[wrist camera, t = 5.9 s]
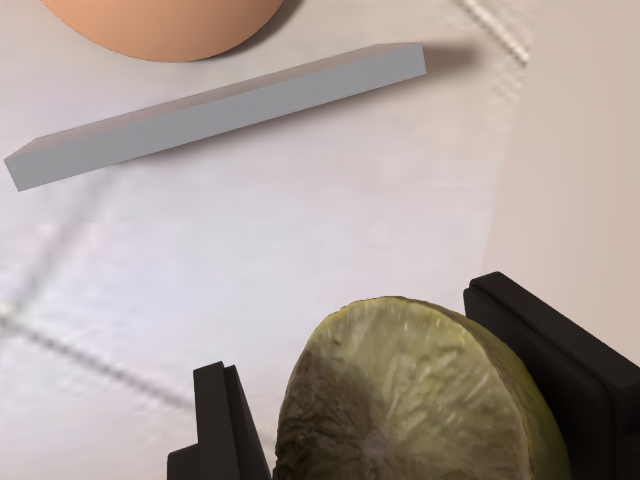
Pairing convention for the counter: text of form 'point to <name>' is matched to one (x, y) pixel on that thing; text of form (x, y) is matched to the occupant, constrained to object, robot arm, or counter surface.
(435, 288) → the counter surface
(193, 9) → the peach domed disc
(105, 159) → the low wall
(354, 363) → the lime
